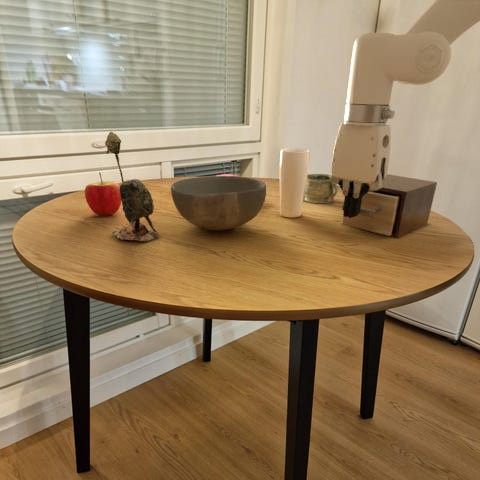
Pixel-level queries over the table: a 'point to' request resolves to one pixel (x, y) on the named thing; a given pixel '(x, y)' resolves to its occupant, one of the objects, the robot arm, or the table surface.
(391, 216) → the drawer
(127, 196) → the stone bird figurine
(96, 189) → the apple
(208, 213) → the bowl
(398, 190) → the cabinet
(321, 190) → the vessel
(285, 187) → the drinking glass
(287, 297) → the table surface
